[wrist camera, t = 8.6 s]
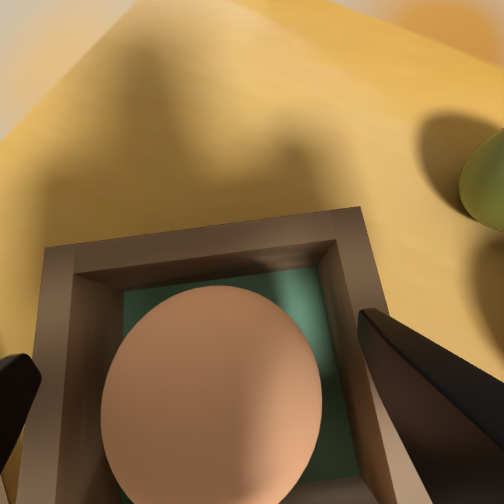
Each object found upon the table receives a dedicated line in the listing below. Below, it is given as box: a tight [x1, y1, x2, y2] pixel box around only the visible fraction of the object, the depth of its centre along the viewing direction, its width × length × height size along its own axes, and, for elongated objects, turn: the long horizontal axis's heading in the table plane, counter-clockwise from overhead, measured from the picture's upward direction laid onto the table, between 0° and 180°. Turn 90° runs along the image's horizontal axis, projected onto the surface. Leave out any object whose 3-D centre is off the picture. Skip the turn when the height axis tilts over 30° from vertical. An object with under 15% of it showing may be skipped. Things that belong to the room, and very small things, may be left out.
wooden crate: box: [16, 206, 433, 504], centre depth 11 cm, size 11×12×5 cm
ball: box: [101, 286, 322, 504], centre depth 10 cm, size 7×7×7 cm
